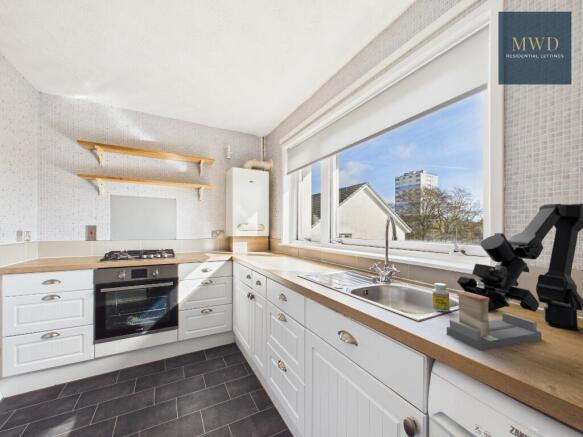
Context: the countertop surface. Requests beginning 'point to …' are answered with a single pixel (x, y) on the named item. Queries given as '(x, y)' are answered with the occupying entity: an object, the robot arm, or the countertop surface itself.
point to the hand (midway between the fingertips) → (478, 314)
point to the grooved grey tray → (497, 332)
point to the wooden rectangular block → (474, 311)
